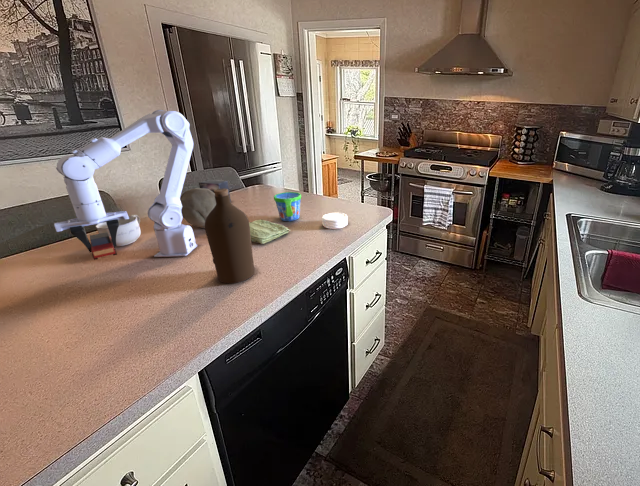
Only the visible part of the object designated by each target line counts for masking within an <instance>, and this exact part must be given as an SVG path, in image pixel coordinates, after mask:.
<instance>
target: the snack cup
mask: <svg viewBox="0 0 640 486" xmlns="http://www.w3.org/2000/svg"><path fill="white" fill-rule="evenodd" d="M301 199H302V194H301V193H300V192H297V191H285V192H279V193H276V194H275V195H274V196H273V201H274V202H275V205H276V209H277V212H278V214H279V215H278V216H279V217H280V219H281V221H282V222H293V221H296V220H299V219H300V215H301Z"/></svg>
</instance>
